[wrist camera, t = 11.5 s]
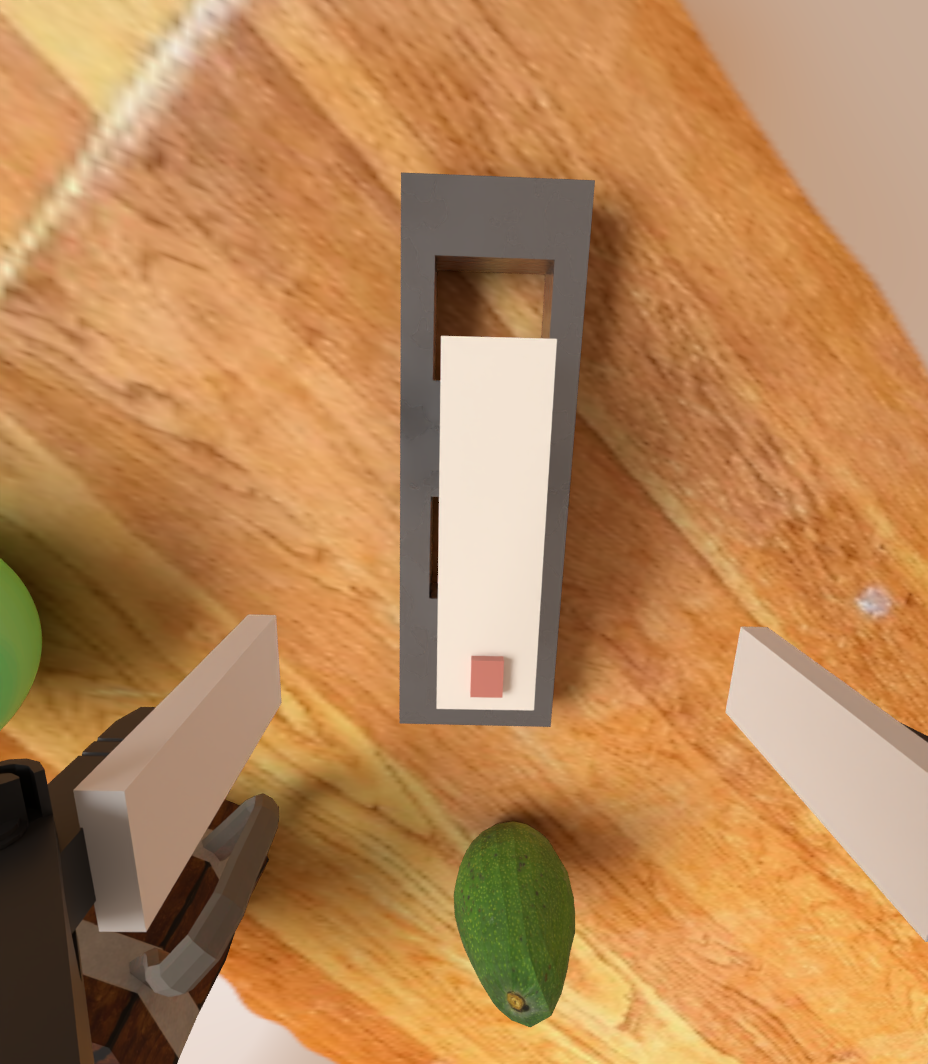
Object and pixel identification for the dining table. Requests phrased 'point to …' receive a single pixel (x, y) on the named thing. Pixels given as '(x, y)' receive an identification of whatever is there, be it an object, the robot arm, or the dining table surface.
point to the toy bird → (16, 642)
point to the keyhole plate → (427, 246)
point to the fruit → (516, 919)
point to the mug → (175, 943)
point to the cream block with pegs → (492, 518)
